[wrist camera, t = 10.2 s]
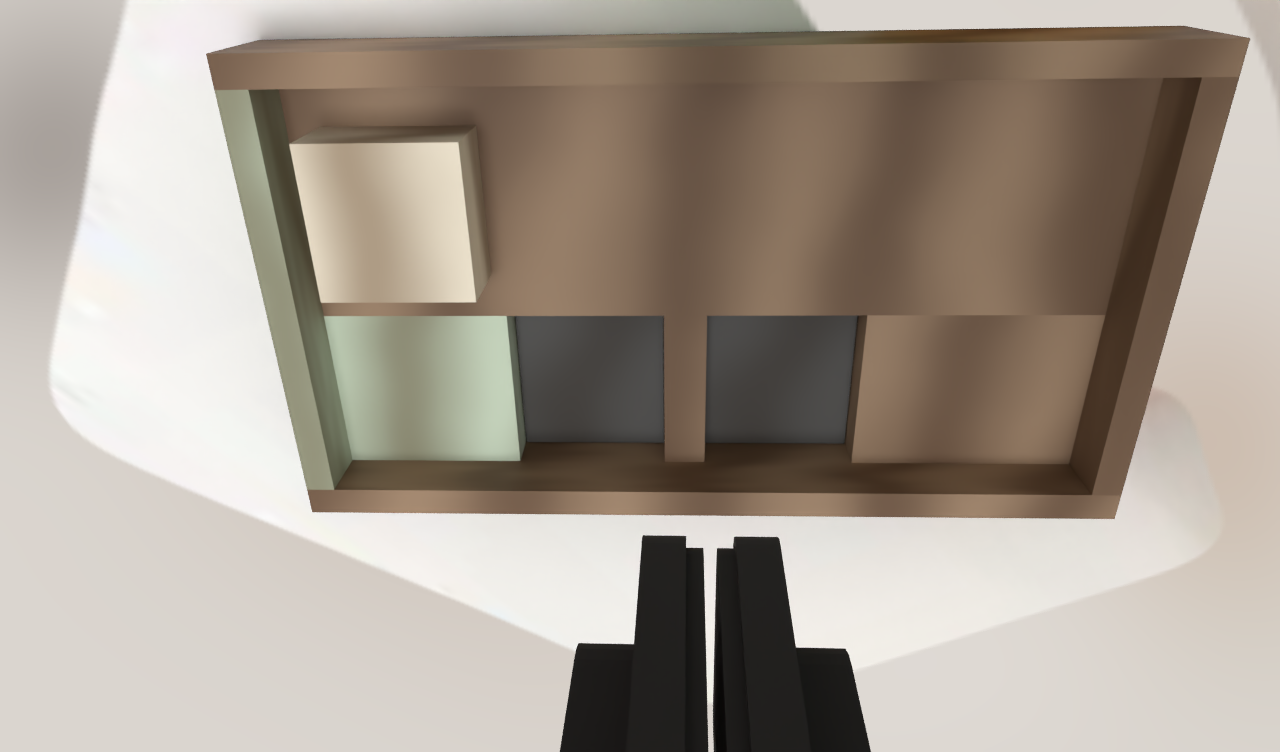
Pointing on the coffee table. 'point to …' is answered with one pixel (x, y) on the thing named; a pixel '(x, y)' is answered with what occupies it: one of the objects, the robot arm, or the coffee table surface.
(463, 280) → the block
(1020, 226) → the box
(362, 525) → the coffee table surface
